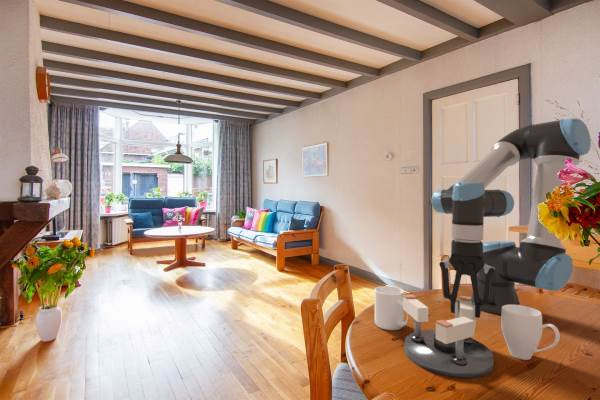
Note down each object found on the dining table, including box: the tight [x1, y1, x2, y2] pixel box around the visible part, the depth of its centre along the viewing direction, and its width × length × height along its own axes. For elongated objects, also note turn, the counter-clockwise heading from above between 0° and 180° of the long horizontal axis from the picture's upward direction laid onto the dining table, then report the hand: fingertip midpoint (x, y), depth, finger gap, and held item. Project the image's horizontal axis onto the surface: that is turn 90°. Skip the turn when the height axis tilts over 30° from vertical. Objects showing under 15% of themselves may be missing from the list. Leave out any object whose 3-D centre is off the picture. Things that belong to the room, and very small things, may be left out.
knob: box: [435, 316, 475, 359], centre depth 73 cm, size 9×3×9 cm, turn 115°
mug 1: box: [374, 285, 410, 331], centre depth 97 cm, size 9×12×11 cm
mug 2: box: [500, 304, 561, 361], centre depth 79 cm, size 12×8×11 cm
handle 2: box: [458, 295, 473, 339], centre depth 85 cm, size 9×3×9 cm, turn 155°
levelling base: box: [404, 329, 494, 379], centre depth 81 cm, size 20×20×6 cm
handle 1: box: [403, 294, 429, 337], centre depth 86 cm, size 9×3×9 cm, turn 5°
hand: (465, 326), depth 87 cm, fingers closed on handle 2, 3 cm apart
